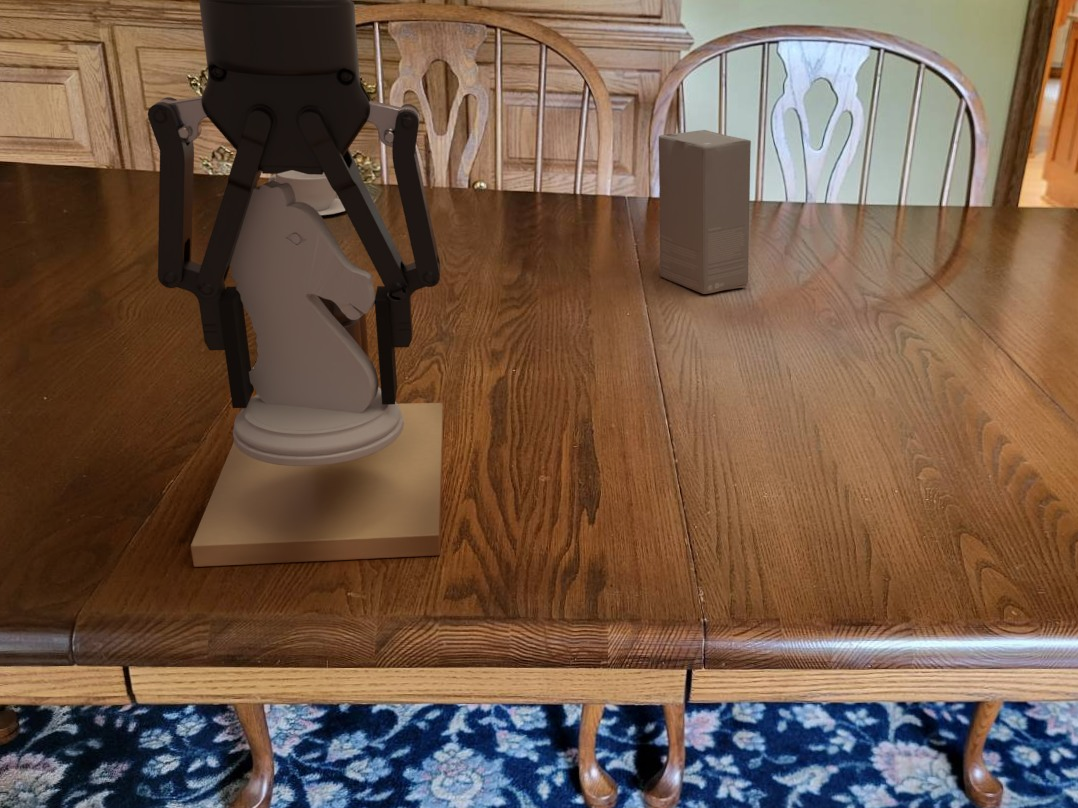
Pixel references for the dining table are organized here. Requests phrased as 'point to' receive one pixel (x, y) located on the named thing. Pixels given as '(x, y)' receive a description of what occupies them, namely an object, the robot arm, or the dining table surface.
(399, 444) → the wooden stand with posts
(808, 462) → the dining table surface
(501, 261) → the dining table surface
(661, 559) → the dining table surface
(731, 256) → the cosmetic box
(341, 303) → the chess piece
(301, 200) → the teacup
